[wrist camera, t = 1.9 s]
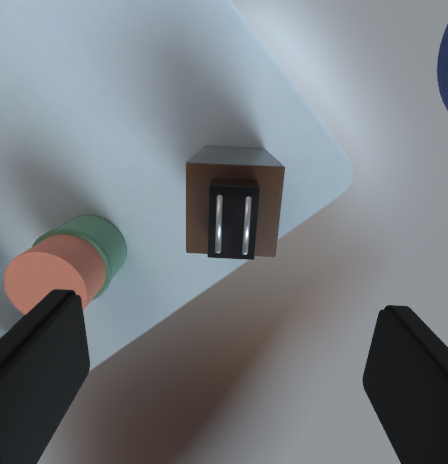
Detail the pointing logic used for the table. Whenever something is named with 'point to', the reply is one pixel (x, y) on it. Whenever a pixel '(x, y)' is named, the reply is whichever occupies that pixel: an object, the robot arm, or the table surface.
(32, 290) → the cup stack
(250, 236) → the clip
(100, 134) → the table surface
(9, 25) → the table surface
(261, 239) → the clip stand
